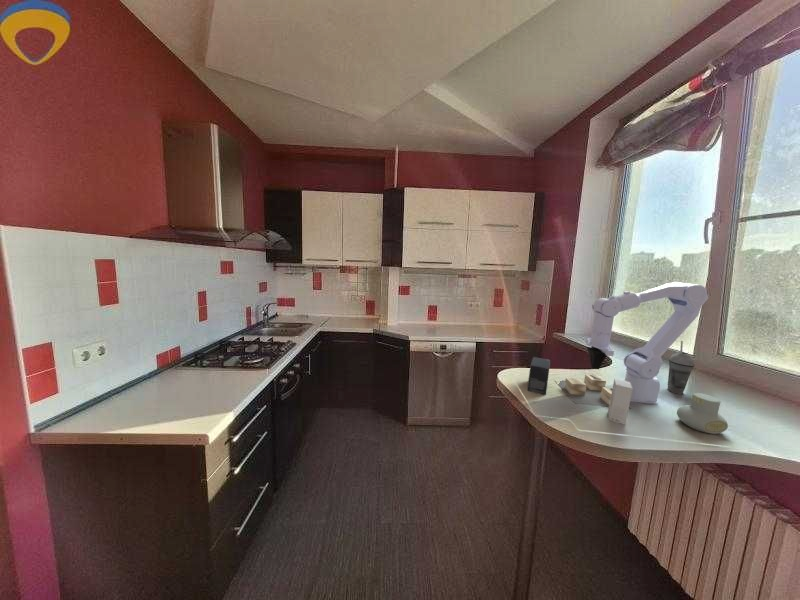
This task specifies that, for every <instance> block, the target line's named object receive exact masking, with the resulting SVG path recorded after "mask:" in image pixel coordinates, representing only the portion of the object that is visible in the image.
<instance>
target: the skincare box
mask: <svg viewBox="0 0 800 600" xmlns="http://www.w3.org/2000/svg"><path fill="white" fill-rule="evenodd" d="M613 379H614V381H613V385H612V388H613V389H612V394H611V399H610V404H609V407H608V410H607V416H608V421H612V422H614V423H619V424H623V425H626V423H627V419H628V418H627V417H628V413H629V410H630V409H629V407H630V403H631V401H630V399H631V394H632V389H633V388H632V386H631V383H630V382H628V381H625V380H622V379H620V378H619V379H618V378H613Z"/></svg>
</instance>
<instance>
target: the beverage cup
mask: <svg viewBox="0 0 800 600" xmlns="http://www.w3.org/2000/svg"><path fill="white" fill-rule="evenodd" d="M683 342H684V341H683V340H681V341H680V352H675V353H673V354H672V355H671V356H670V357H669V360H668V366H669V369H668V378H667V391H669V392H671V393H675V394H680V395H682V394H684V392H685V389H686V386H687V384H688V381H689V379H690V375H691V373H692V371H693V370H694V367H695V360H694V358H693V357H692V356H691V355H690V354H689V353H687V352H683V347H684V346H683V344H684V343H683Z"/></svg>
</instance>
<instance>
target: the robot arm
mask: <svg viewBox="0 0 800 600" xmlns="http://www.w3.org/2000/svg"><path fill="white" fill-rule="evenodd" d="M664 298H667V299H668V301H669V302H670V304H671V305H672V307H673V309H674V312H673V313H672V314H671V316H669V318H668V319H667V320H666V321H665V322H664V324H662V326H660V328H658V329H657V331H656V332H655V333H654V335H653V336H652V337H651V338H650V339H649V340H648V341H647V342H646V344H645V345H643V346H642V347H637V348H635V349H634V350H633V351H632V352H630V353H627V354H626V355H625V357H624V358H623V364H624V366H625V368H626V369H625V370H626V372H625V377H624V381H628V382H630V383H631V386H632V388H633V389H632V394H631V399H630V402H636V403H645V404H656V405H659V402H658V398H659V393H660V390H661V389H660V388H661V384H660V380H659V378H657V377H656V376H658V375H659V373H660V369H661V367H663V365H664V362H663V359H662V356H663V355H664V354H665V353H666V352H667V350H669V348H670V347H671V346H672V345H673V344H674V343H675V342H676V341H677V339H679V337H681V335H682V334H683V333H684V332H685V331H686V329H688V327H689V326H691V324H692V323H693V322H694V321H695V320H696V318H697V317H698V316H699V314H700V312H701V309H702V306H703V305H704V304H705V303H706V302H707V301H708V300H709V295H708V291H707V288H706V287H705V286H704V285H702V284H694V283H686V282H681V281H672V282H669V283H668V282H667V283H665V284H663V285H659V286H657V287H653V288H649V289H647V290H644V291H640V292H638V293H636V292H634V291H629V290H626V291H623V293H621V294H618V295H609V296H608V297H606V298H605V297H600V298H598V299H596V300H595V301H594V303H593V304H592V305H591V306H592V307H591V308H592V311H594V315H593V321H592V328H591V333H590V337H586V338H585V345H587V346H588V347H587V348H586V350H587V351H588V352H587V353H588V354H589V359H590V360H589V362H590V368H591V369H595V370H599V369H600V368H601V366H602V364H603V362H604V361H605V360H606V358H607V357H614V353H615V350H614V349H612V347H611V346H610V341H611V336H612V331H613V330H612V329H613V324H614V321H615V320H614V319H615V318H614V317H616V316H617V315H618V314H619V313H621V312H624V311H628V310H632V309H636V308H638V307H639V306H640V305H641V304H642V303H645V302H651V301H655V300H659V299H664Z"/></svg>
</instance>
